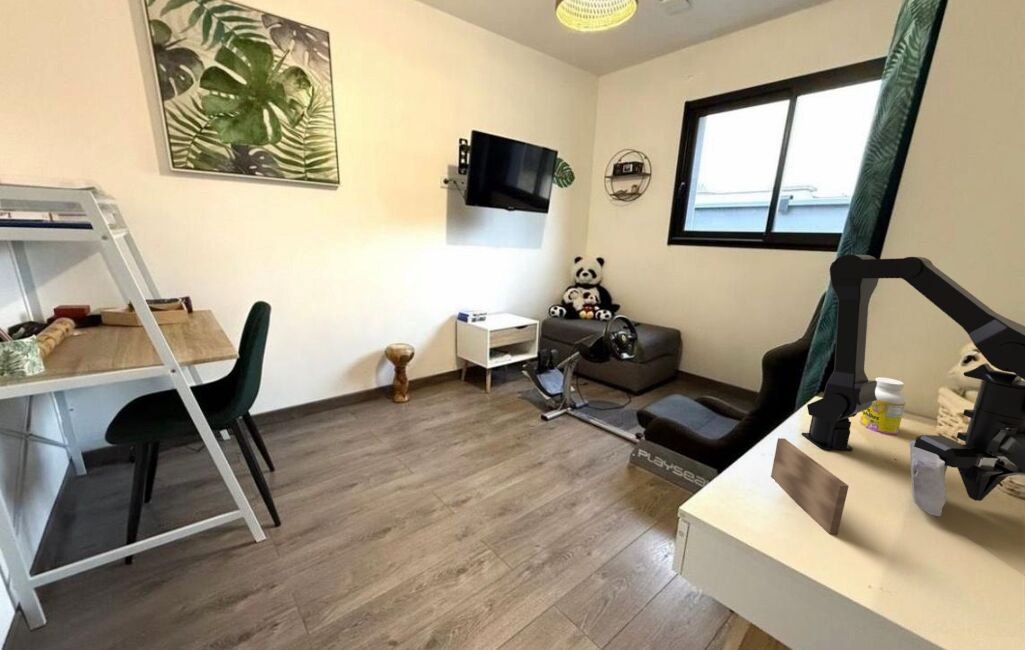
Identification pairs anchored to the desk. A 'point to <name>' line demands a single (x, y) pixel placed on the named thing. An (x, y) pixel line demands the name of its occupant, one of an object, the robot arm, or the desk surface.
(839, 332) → the robot arm
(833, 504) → the walnut plate
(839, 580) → the desk surface
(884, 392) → the supplement bottle
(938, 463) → the stone block
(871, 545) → the desk surface
